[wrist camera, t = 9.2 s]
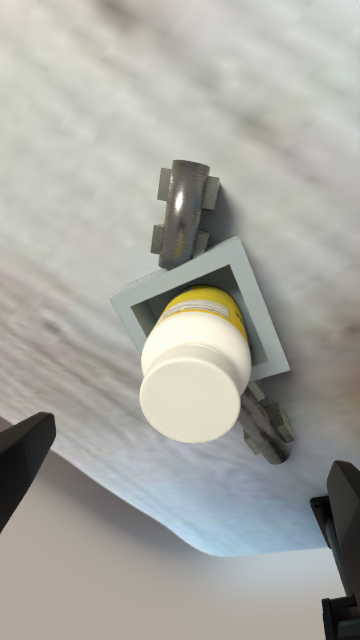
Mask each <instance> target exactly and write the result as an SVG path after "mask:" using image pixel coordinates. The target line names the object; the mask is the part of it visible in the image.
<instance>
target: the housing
mask: <svg viewBox="0 0 360 640" xmlns="http://www.w3.org/2000/svg"><path fill="white" fill-rule="evenodd" d="M197 283H209V284H213V285H217V286H219V287H221V288H223V289H225V290H226V291H228V292H229V293H230V294H231V295H232V296H233V297H234V298H235V300H236V301H237V303H238V305H239V307H240V310H241V313H242V317H243V322H244V327H245V332H246V337H247V341H248V345H249V350H250V355H251V375H250V379H249V382H252V381H255V380H258V379H262V378H265V377H269V376H272V375H275V374H279V373H282V372H286V371H289V370H290V367H289V365H288V362H287V359H286V357H285V354H284V352H283V349H282V346H281V344H280V341H279V339H278V336H277V333H276V331H275V328H274V326H273V323H272V320H271V318H270V315H269V313H268V310H267V307H266V305H265V302H264V300H263V297H262V294H261V292H260V289H259V287H258V284H257V281H256V279H255V276H254V273H253V271H252V268H251V266H250V263H249V260H248V258H247V255H246V253H245V250H244V247H243V245H242V242H241V240H240V238H239V236H238V234H237V235H235V236H233V237H231V238H228V239H226V240H224V241H222V242H220V243H217V244H215V245H213V246H211V247H209V248H207V249H206V251H205V253H204V254H202V255H199V256H197V257H195V258H193V259H192V260H190V261H188V262H187V263H185V264H183V265H181V266H179V267H177V268H175V269H172V270H167V269H164V268H163V269H161V270H158V271H156V272H154V273H152V274H150V275H148V276H145V277H143V278H141V279H139V280H137V281H134V282H132V283H130V284H128V285H126V286H125V287H124V288H122V289H121V290H120V291H118V292H117V293H115V294H114V295H113V296H111V297H110V298H109V300H110V301H111V303H112V305H113V307H114V309H115V310H116V312H117V314H118V316H119V318H120V319H121V321H122V323H123V325H124V327H125V329H126V330H127V332H128V334H129V336H130V338H131V339H132V341H133V343H134V345H135V347H136V348H137V350H138V352H139V354H140V356H141V357H142V351H143V348H144V345H145V343H146V340H147V338H148V336H149V335H150V333H151V332H152V330H153V328H154V327H155V325H156V323H157V322H158V320H159V318H160V316H161V315H162V313H163V312H164V310H165V308H166V307H167V305H168V303H169V302H170V300H171V299H172V298H173V296H174V295H175V294H176V293H177V292H179V291H180V290H181V289H183V288H185V287H187V286H189V285H192V284H197Z"/></svg>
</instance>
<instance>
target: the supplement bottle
mask: <svg viewBox="0 0 360 640" xmlns="http://www.w3.org/2000/svg"><path fill="white" fill-rule="evenodd" d="M141 367H142V373H143V376H144V380H143V382H142V385H141V389H140V404H141V408H142V411H143V413H144V415H145V417H146V419H147V420H148V421H149V423H150V424H151V425H152V426H153V427H154V428H155V429H156V430H157V431H159V432H160V433H161V434H163V435H165V436H167V437H168V438H171V439H173V440H176V441H179V442H184V443H205V442H209V441H213V440H215V439H217V438H219V437H221V436H223V435H224V434H226V433H227V432H228V431H229V430H230V429H231V428H232V427H233V425H234V424H235V422H236V421H237V418H238V416H239V413H240V408H241V398H240V396H241V395H242V393H243V392H244V390H245V389H246V387H247V385H248V382H249V379H250V375H251V355H250V350H249V345H248V341H247V337H246V332H245V327H244V322H243V317H242V313H241V310H240V307H239V305H238V303H237V301H236V300H235V298H234V297H233V296H232V295H231V294H230V293H229V292H228V291H226V290H225V289H223V288H221V287H219V286H217V285H213V284H209V283H197V284H192V285H189V286H187V287H185V288H183V289H181V290H180V291H179V292H177V293H176V294H175V295H174V296H173V298H172V299H171V300H170V302H169V303H168V305H167V307H166V308H165V310H164V312H163V313H162V315H161V316H160V318H159V320H158V322H157V323H156V325H155V327H154V328H153V330H152V332H151V333H150V335H149V336H148V338H147V340H146V343H145V345H144V348H143V351H142V357H141Z"/></svg>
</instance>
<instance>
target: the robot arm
mask: <svg viewBox="0 0 360 640" xmlns="http://www.w3.org/2000/svg"><path fill="white" fill-rule="evenodd" d="M55 437H56V426H55V418H54V415H53V414H52V413H48V412H39V413H37V414H35V415H33V416H31V417H29V418H27V419H25V420H23V421H21V422H20V423H18V424H16V425H14V426H12V427H10V428H8V429H6V430H4V431H2V432H0V533H1V532H2V530H3V528H4V527H5V525H6V524H7V522H8V520H9V519H10V517H11V516H12V514H13V513H14V511H15V509H16V508H17V506H18V505H19V503H20V502H21V500H22V499H23V497H24V495H25V494H26V492H27V491H28V489H29V487H30V486H31V484H32V482H33V480H34V479H35V477H36V474H37V473H38V471H39V469H40V467H41V465H42V463H43V461H44V459H45V457H46V455H47V453H48V451H49V449H50V447H51V446H52V444H53V442H54V440H55ZM327 489H328V494H329V496H323V497H317V498H312V499H311V500H310V505H311V508H312V510H313V512H314V515H315V517H316V519H317V522H318V524H319V526H320V529H321V531H322V533H323V536H324V538H325V540H326V543H327V545H328V547H329V548H330V549H332V552H333V555H334V558H335V562H336V565H337V568H338V571H339V574H340V577H341V580H342V584H343V587H344V590H345V593H346V597H340V598H335V599H329V598H326V599H322V607H323V622H324V629H325V637H326V640H360V471H359V470H358V469H357V468H356V467H355V466H354V465H353V464H351V463H349V462H345V461H339V460H336V461H334V463H333V465H332V468H331V470H330V473H329V476H328V479H327Z"/></svg>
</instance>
